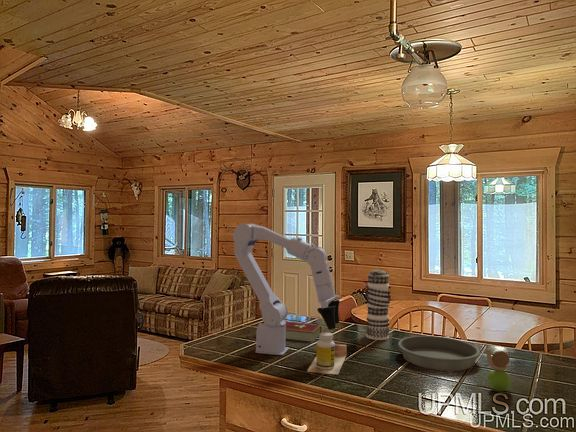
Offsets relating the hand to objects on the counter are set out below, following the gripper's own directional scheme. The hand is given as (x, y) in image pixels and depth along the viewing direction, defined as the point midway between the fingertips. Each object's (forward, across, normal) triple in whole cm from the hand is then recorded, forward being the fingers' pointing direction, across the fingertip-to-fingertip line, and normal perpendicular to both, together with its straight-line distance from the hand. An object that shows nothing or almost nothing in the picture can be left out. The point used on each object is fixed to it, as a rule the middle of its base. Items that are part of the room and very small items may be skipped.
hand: (334, 326), depth 139 cm
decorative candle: (+13, +30, -9) cm, 33 cm away
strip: (+9, -6, +3) cm, 11 cm away
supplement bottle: (+9, -10, +3) cm, 14 cm away
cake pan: (+18, +8, -28) cm, 35 cm away
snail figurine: (+22, -14, -41) cm, 49 cm away
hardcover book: (+5, +22, +22) cm, 32 cm away
